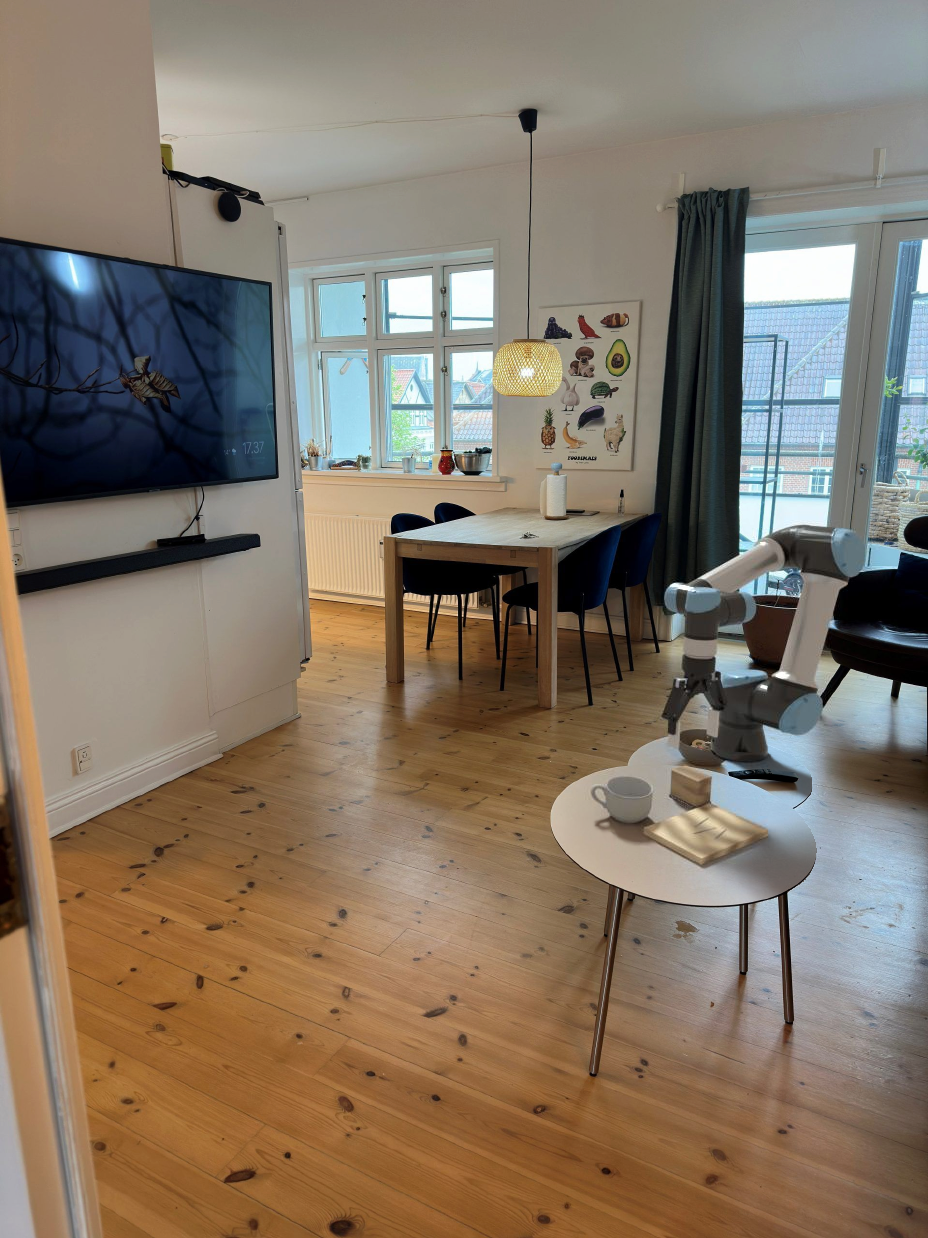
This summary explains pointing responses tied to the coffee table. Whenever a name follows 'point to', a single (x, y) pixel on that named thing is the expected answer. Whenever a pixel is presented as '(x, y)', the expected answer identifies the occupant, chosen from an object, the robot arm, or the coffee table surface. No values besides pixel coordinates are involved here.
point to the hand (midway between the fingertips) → (693, 741)
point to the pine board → (705, 833)
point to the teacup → (626, 798)
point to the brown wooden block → (690, 786)
